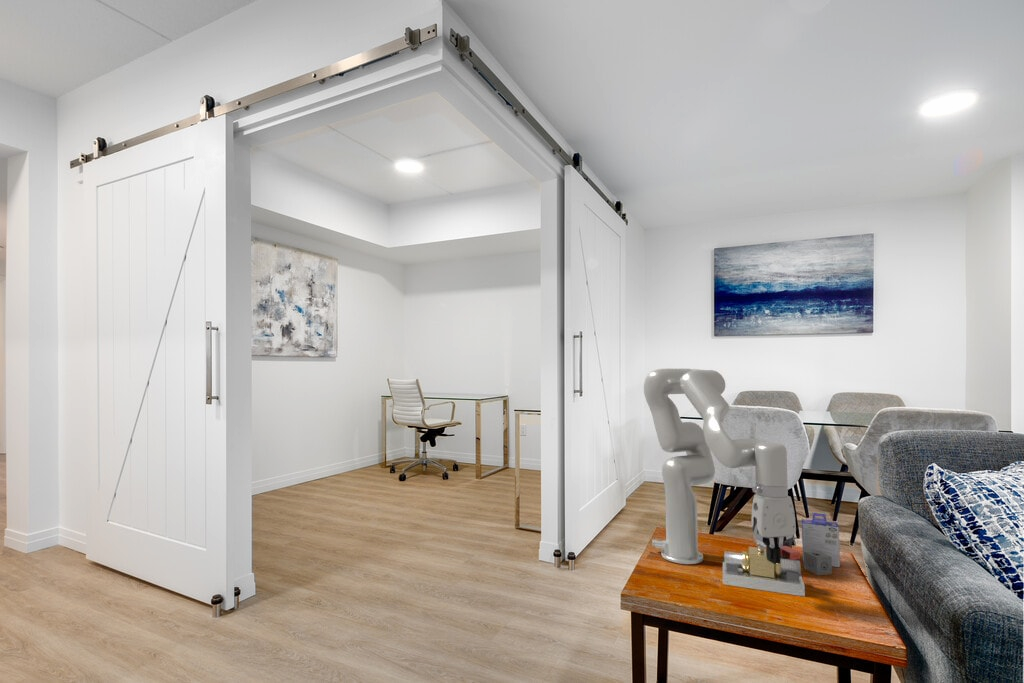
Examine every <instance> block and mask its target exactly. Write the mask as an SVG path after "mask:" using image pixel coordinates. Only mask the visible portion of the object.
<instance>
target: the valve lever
mask: <svg viewBox="0 0 1024 683" xmlns="http://www.w3.org/2000/svg"><path fill="white" fill-rule="evenodd" d="M754 543H755V544H756V545H757V546H758V545H762V546H764V548H766V545H765V544H764V543H763V542H762V541H758V540H756V539H754ZM780 552H781V556H783V557H785V558H787V559H789V560H800V558H801V557H800V556H801V555H800V554H801V553H800V551H799V550H798V549H797V550H796V549H794V548H793V547H792V548H790V547H788V546H783V547H782V548H780Z"/></svg>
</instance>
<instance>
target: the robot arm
mask: <svg viewBox="0 0 1024 683" xmlns="http://www.w3.org/2000/svg"><path fill="white" fill-rule="evenodd" d="M725 389H726V381H725V378H724V377H723V375H722V374H721V373H719V371H716V370H714V369H713V370H712V369H700V368H699V369H696V368H659V369H654V370H652V371H650V372H649V373H647V376H646V377H645V380H644V383H643V394H644V397H645V400H646V403H647V405H648V408H649V410H650V413H651V416H652V420H653V424H654V429H655V432H656V436H657V439H658V440H657V441H658V442H659V446H660V448H661V450H663V451H664V452H666V453H670V454H671V453H672V454H673V453H684V452H685V454H686V455H678V456H677V455H676V456H672V457H669V458H668V459H666V460H665V461H664V462H663V465H662V466H661V476H662V480H663V484H664V495H665V537H666V538H665V539H664V540H657V539H652V541H651V546H652V547H654V548H655V549H660V550H661V551H660V552H661V557H662V558H664V559H665V560H667V561H669V562H672V563H676V564H679V565H680V564H681V565H696V564H700V563H702V562H704V561H703V560H704V555H703V553H702V552H700V551H699V543H698V542H699V539H698V538H699V537H698V536H699V535H698V533H699V532H698V502H697V497H696V495H695V493H694V491H693V488H692V487H693V486H694V487H695V486H699V485H705V484H709V483H710V482H712V481H713V480H714V477H715V474H716V471H715V464H714V463H715V462H714V460H713V456H712V454H713V455H714V457H715V458H716V459H717V461H718V462H719V463H720V464H722V466H724V467H726V468H729V469H739V468H747V467H748V468H749V467H755V468H754V470H755V486H753V487H752V488H751V490H752V493H755V494H754V496H753V499H752V506H751V530H752V532H753V535H752V537H753V539H754V540H755V539H756V540H758V541H762V542H763V543H764V544H765V545H766V547H765V549H766V557H767V560H768V561H770V562H772V563H773V564H777V563H778V564H780V558H781V552H780V548H782V547H783V543H784V542H785V540H787V539H790V538H792V537H793V535H795V534H796V533H797V532H796V531H797V527H796V516H795V508H794V504H793V500H792V497H791V496H789V495H788V494H789V492H788V491H789V490H788V489H789V488H788V484H789V483H788V457H787V456H788V455H787V454H788V452H787V448H786V447H785V446H786V445H783V444H781V443H777V442H767V441H763V440H761V439H757V438H738V439H731V438H730V436H729V434H728V433H727V432H726V431H725V429H724V428H723V426H722V422H721V421H722V420H723V419H724V418H725V417H726V416H727V415H728V413H729V411H730V405H729V403H728V402H727V401H726V399H725V398H724V397H723V396H722V394H723V393H724V392H725ZM669 395H684V396H685V397H686V398H687V400H688V401H689V402H690V403H691V405H692V407H694V409H695V410H696V412H697V414H699V416H700V417H701V418H702V421H703V426H702V427H701V426H700V425H699V424H697V423H696V422H694V421H693V422H692V421H682V419H681V416H680V413H679V410H678V407H677V406H676V404H675V403H674V401H673V400H672V399H671V398H670V397H669ZM793 538H794V537H793Z"/></svg>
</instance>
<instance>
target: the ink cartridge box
mask: <svg viewBox="0 0 1024 683" xmlns="http://www.w3.org/2000/svg"><path fill="white" fill-rule="evenodd" d="M826 515H827V514H825V513H818V512H817V513H816V512H812V519H805V518H802V519H801V542H802V561H803V563H804V552H806V551H820V552H823V553H825V554H827V555H829V556H831V557H832V567H836V568H840V566H841V562H840V561H841V560H840V557H841V555H840V552H841V551H840V526H839V525H838V523H837V522H834V521H827V516H826ZM819 516H820V517H822V518H819Z"/></svg>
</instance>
